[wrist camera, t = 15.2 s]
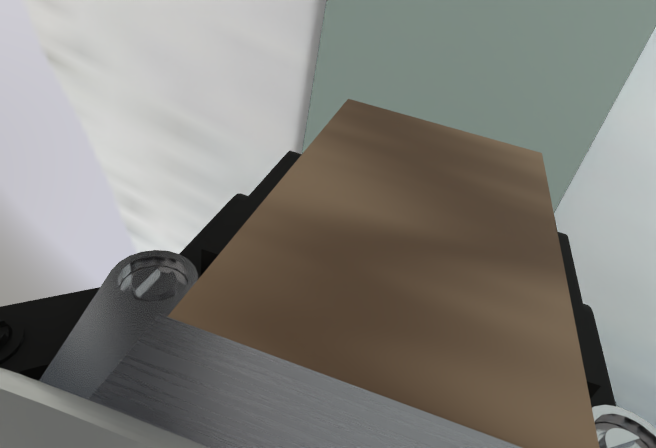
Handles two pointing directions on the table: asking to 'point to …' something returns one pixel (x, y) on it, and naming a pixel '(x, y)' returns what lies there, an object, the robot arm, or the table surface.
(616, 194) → the table surface
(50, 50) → the table surface
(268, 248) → the brown rectangular block
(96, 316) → the robot arm
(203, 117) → the table surface
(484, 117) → the tool mat
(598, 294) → the table surface
